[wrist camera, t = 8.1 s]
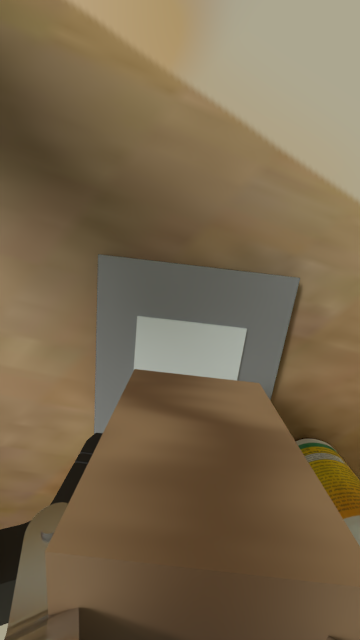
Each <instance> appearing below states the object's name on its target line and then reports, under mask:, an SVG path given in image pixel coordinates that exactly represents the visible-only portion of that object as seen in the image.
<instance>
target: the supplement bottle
mask: <svg viewBox="0 0 360 640" xmlns="http://www.w3.org/2000/svg"><path fill="white" fill-rule="evenodd" d="M295 442H296V443H297V445H298V447H299V448H300V450H301V451H302V453H303V455H304V456H305V458H306V460H307V461H308V463H309V464H310V466H311V468H312V469H313V471H314V473H315V474H316V476H317V477H318V479H319V481H320V482H321V484H322V486H323V487H324V489H325V490H326V492H327V494H328V495H329V497H330V499H331V500H332V502H333V503H334V505H335V507H336V508H337V510H338V512H339V513H340V515H341V517H342V518H343V520H344V521H345V523H346V525H347V526H348V528H349V530H350V531H351V533H352V534H353V536H354V538H355V539H356V541H357V543H358V544H359V546H360V480H359V479H358V478H357V476H356V475H355V474H354V473H353V471H352V470H351V469H350V468H349V466H348V465H347V464H346V463H345V461H344V460H343V459H342V458H341V456H340V455H339V454H338V453H337V451H336V450H335V449H334V448H333V447H332V446H331V445H329V444H328V443H326V442H323V441H320V440H317V439H301V440H298V441H295Z"/></svg>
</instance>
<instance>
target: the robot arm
mask: <svg viewBox="0 0 360 640" xmlns="http://www.w3.org/2000/svg"><path fill="white" fill-rule="evenodd" d="M102 434H103V433H95V434H94V435H93V436H92V437H91V438H89V439H88V440H87V441H86V443H85V445H84V446H83V448H82V450H81V452H80V454H79V455H78V457H77V459H76V461H75V463H74V464H73V466H72V468H71V470H70V471H69V473H68V475H67V477H66V479H65V480H64V482H63V484H62V486H61V488H60V489H59V491H58V493H57V495H56V496H55V498H54V500H53V501H52V503H51V504H50V505H49V506H47V507H46V508H44V509H43V510H41V511H40V512H39V513H38V514H37V515H36V516H35V517H34V518H33V519H32V520H31V521H29V522H27V523H25V524H21V525H18V526H14V527H9V528H5V529H1V530H0V626H1V625H3V624H6V623H8V628H7V633H6V636H5V639H4V640H79V607H78V608H73V609H69V610H66V611H64V612H62V613H58V614H53V615H48V600H47V582H46V563H45V550H46V548H47V546H48V544H49V542H50V540H51V538H52V536H53V534H54V532H55V530H56V528H57V526H58V524H59V522H60V520H61V518H62V516H63V514H64V512H65V510H66V508H67V506H68V504H69V502H70V499H71V497H72V495H73V493H74V491H75V489H76V487H77V485H78V483H79V481H80V479H81V477H82V475H83V473H84V471H85V469H86V467H87V465H88V463H89V461H90V459H91V457H92V455H93V453H94V451H95V448H96V446H97V444H98V442H99V440H100V438H101V436H102ZM326 640H337V639H335V638H333V637H331V636H329V635H328V637H327V639H326Z"/></svg>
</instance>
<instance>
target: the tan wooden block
mask: <svg viewBox="0 0 360 640" xmlns="http://www.w3.org/2000/svg"><path fill="white" fill-rule="evenodd" d="M45 563H46V582H47V600H48V615H53V614H58V613H62V612H64V611H66V610H69V609H73V608H78V607H79V640H326V639H327V637H328V635H329V636H331V637H333V638H335V639H337V640H360V546H359V544H358V543H357V541H356V539H355V538H354V536H353V534H352V533H351V531H350V530H349V528H348V526H347V525H346V523H345V521H344V520H343V518H342V517H341V515H340V513H339V512H338V510H337V508H336V507H335V505H334V503H333V502H332V500H331V499H330V497H329V495H328V494H327V492H326V490H325V489H324V487H323V486H322V484H321V482H320V481H319V479H318V477H317V476H316V474H315V473H314V471H313V469H312V468H311V466H310V464H309V463H308V461H307V460H306V458H305V456H304V455H303V453H302V451H301V450H300V448H299V447H298V445H297V443H296V442H295V440H294V438H293V437H292V435H291V434H290V432H289V430H288V429H287V427H286V425H285V424H284V422H283V421H282V419H281V417H280V416H279V414H278V412H277V411H276V409H275V407H274V406H273V404H272V403H271V401H270V399H269V398H268V396H267V394H266V393H265V391H264V390H263V388H262V386H261V385H260V383H254V382H245V381H236V380H228V379H219V378H210V377H201V376H192V375H183V374H174V373H166V372H157V371H148V370H139V369H134V371H133V373H132V375H131V377H130V379H129V381H128V383H127V385H126V387H125V389H124V391H123V393H122V395H121V398H120V400H119V402H118V404H117V406H116V408H115V410H114V412H113V414H112V416H111V418H110V420H109V422H108V424H107V426H106V428H105V430H104V432H103V434H102V436H101V438H100V440H99V442H98V444H97V446H96V448H95V451H94V453H93V455H92V457H91V459H90V461H89V463H88V465H87V467H86V469H85V471H84V473H83V475H82V477H81V479H80V481H79V483H78V485H77V487H76V489H75V491H74V493H73V495H72V497H71V499H70V502H69V504H68V506H67V508H66V510H65V512H64V514H63V516H62V518H61V520H60V522H59V524H58V526H57V528H56V530H55V532H54V534H53V536H52V538H51V540H50V542H49V544H48V546H47V548H46V550H45Z"/></svg>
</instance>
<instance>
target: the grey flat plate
mask: <svg viewBox="0 0 360 640" xmlns="http://www.w3.org/2000/svg"><path fill="white" fill-rule="evenodd" d="M299 281H300V278H296V277H288V276H279V275H271V274H262V273H254V272H245V271H237V270H228V269H220V268H211V267H203V266H194V265H185V264H177V263H168V262H160V261H151V260H143V259H134V258H126V257H117V256H109V255H99V254H98V285H97V331H96V377H95V424H94V434H95V433H103V432H104V430H105V428H106V426H107V424H108V422H109V420H110V418H111V416H112V414H113V412H114V410H115V408H116V406H117V404H118V402H119V400H120V398H121V395H122V393H123V391H124V389H125V387H126V385H127V383H128V381H129V379H130V377H131V375H132V373H133V371H134V369H139V370H148V371H157V372H166V373H174V374H183V375H192V376H201V377H210V378H219V379H228V380H236V381H245V382H254V383H260V385H261V386H262V388H263V390H264V391H265V393H266V394H267V396H268V398H269V399H270V400H271V396H272V392H273V388H274V383H275V379H276V375H277V371H278V367H279V363H280V359H281V355H282V351H283V346H284V342H285V338H286V334H287V330H288V326H289V322H290V318H291V314H292V309H293V305H294V301H295V297H296V293H297V289H298V285H299Z"/></svg>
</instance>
